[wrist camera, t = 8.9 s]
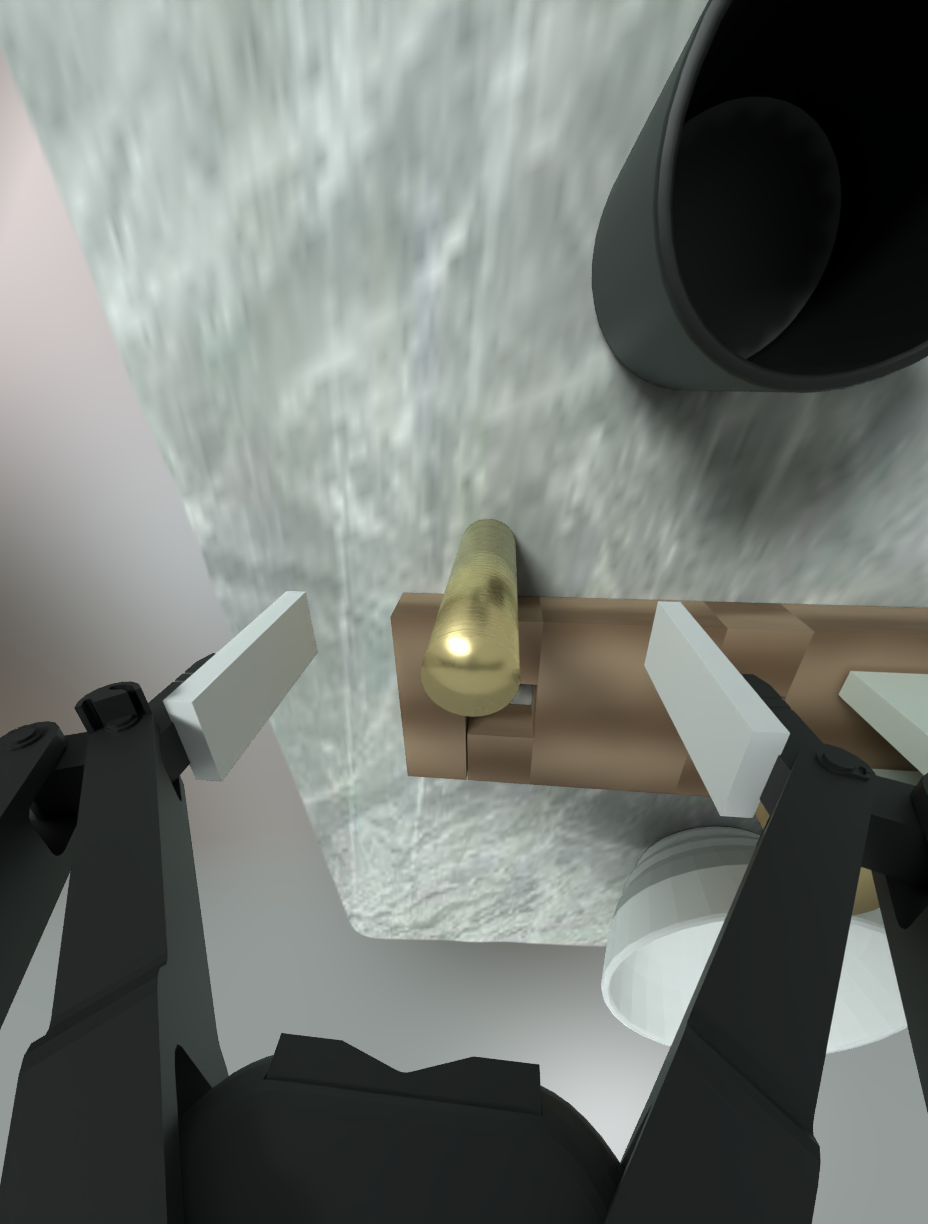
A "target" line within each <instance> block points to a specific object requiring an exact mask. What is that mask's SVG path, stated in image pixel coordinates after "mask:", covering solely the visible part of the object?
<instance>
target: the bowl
mask: <svg viewBox="0 0 928 1224" xmlns="http://www.w3.org/2000/svg"><path fill="white" fill-rule="evenodd" d="M759 837H760V835H759V834H756V833H753V832H750V831H747V830H743V829H738V828H732V827H700V828H695V829H689V830H685V831H681V832H678V833H675V834H672V835H670V836H668V837H665V838H663V839H661V840H659V841H658V842H656V843H655V844H653V845H652V846H650V847H649V848H648V849H647V850H646V851H645V852H644V853H643V854H642V856H641V858H640V859H639V861H638V863H637V865H636V868H635V869H634V871H633V872H632V874H631V875H630V877H629V879H628V880H627V882H626V884H625V888H624V892H623V895H622V897H621V899H620V900H619V902H618V905H617V908H616V911H615V914H614V917H613V920H612V921H611V925H610V930H609V935H608V941H607V947H606V955H605V960H604V968H603V975H602V982H601V989H602V994H603V998H604V1001H605V1003H606V1005H607V1006H608V1008H609V1009H610V1011H611V1013H612V1014H613V1015H614V1016H615V1017H616V1018H617V1019H618V1020H619V1021H621V1022H622V1023H623V1024H624V1025H625V1026H627V1027H628V1028H630V1029H632V1030H633V1031H635V1032H637V1033H639V1034H640V1035H642V1036H644V1037H647V1038H649V1039H651V1040H654V1041H656V1042H659V1043H661V1044H664V1045H668V1046H671V1045H672V1043H673V1040H674V1038H675V1036H676V1033H677V1031H678V1029H679V1026H680V1024H681V1022H682V1019H683V1017H684V1014H685V1012H686V1010H687V1007H688V1005H689V1003H690V1000H691V998H692V996H693V993H694V991H695V989H696V986H697V984H698V982H699V979H700V977H701V975H702V972H703V970H704V968H705V965H706V963H707V961H708V958H709V956H710V954H711V951H712V949H713V946H714V944H715V942H716V939H717V937H718V935H719V932H720V930H721V928H722V925H723V923H724V921H725V918H726V916H727V914H728V911H729V909H730V907H731V904H732V902H733V900H734V897H735V895H736V893H737V890H738V888H739V886H740V883H741V881H742V879H743V876H744V874H745V871H746V869H747V867H748V864H749V862H750V860H751V857H752V855H753V853H754V850H755V848H756V844H757V842H758V840H759ZM906 1027H908V1026H907V1022H906V1018H905V1013H904V1009H903V1005H902V1000H901V996H900V992H899V988H898V983H897V979H896V975H895V970H894V966H893V962H892V958H891V953H890V949H889V945H888V940H887V936H886V932H885V928H884V923H883V919H882V915H881V911H880V910H879V909H876V910H873V911H870V912H867V913H863V914H858V915H852V917H851V923H850V928H849V933H848V939H847V944H846V949H845V954H844V960H843V965H842V970H841V976H840V981H839V986H838V992H837V997H836V1002H835V1008H834V1013H833V1018H832V1023H831V1029H830V1034H829V1039H828V1045H827V1050H826V1054H828V1053H832V1052H838V1051H843V1050H848V1049H852V1048H856V1047H859V1046H862V1045H866V1044H869V1043H872V1042H876V1041H878V1040H881V1039H883V1038H885V1037H888V1036H890V1035H892V1034H894V1033H897V1032H899V1031H901V1030H903V1029H904V1028H906Z"/></svg>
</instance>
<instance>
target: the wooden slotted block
mask: <svg viewBox="0 0 928 1224" xmlns="http://www.w3.org/2000/svg"><path fill="white" fill-rule="evenodd" d="M443 596H444V594H426V593H403V594H402V596H401V598H400V600H399V602H398V604H397V606H396V608H395V609H394V611H393V613H392V615H391V626H392V635H393V644H394V653H395V662H396V672H397V681H398V690H399V699H400V708H401V718H402V727H403V736H404V745H405V754H406V764H407V773H408V776H417V777H432V778H446V779H461V780H466V779H467V770H468V780H475V781H490V782H504V783H519V784H533V785H548V786H563V787H577V788H592V789H606V790H621V791H635V792H650V793H664V794H679V795H693V796H708V797H710V795H709V793H708V791H707V789H706V787H705V785H704V783H703V781H702V779H701V777H700V775H699V773H698V771H697V769H696V767H695V765H694V763H693V761H692V759H691V757H690V755H689V753H688V751H687V749H686V747H685V745H684V743H683V741H682V739H681V737H680V735H679V733H678V731H677V729H676V727H675V725H674V723H673V721H672V719H671V717H670V716H669V714H668V712H667V710H666V708H665V706H664V704H663V702H662V700H661V698H660V696H659V694H658V692H657V690H656V688H655V686H654V684H653V682H652V680H651V678H650V676H649V674H648V672H647V670H646V668H645V666H644V664H645V659H646V655H647V650H648V645H649V641H650V636H651V632H652V627H653V622H654V618H655V613H656V608H657V604H658V601H663V602H681V603H682V605H683V606H684V607H685V608H686V609H687V611H688V612H689V613H690V614H691V615H692V617H693V618H694V619H695V620H696V621H697V623H698V624H699V625H700V626H701V627H702V629H703V630H704V631H705V632H706V633H707V635H708V636H709V637H710V638H711V639H712V640H713V642H714V643H715V644H716V645H717V646H718V648H719V649H720V650H721V651H722V652H723V654H724V655H725V656H726V657H727V658H728V660H729V661H730V662H731V663H732V664H733V666H734V667H735V668H736V669H737V670H738V672H739V673H740V674H754V675H755V676H757V677H758V678H760V679H762V680H763V681H765V682H766V683H768V684H769V685H771V686H772V687H773V688H774V690H775V691H776V692H777V693H778V694H779V695H780V696H781V697H782V700H784V701H785V702H786V703H787V704H788V705H789V706H790V707H791V710H794V712H795V713H796V714H797V715H798V716H799V717H800V718H801V719H802V720H803V721H804V723H805V724H806V725H807V726H808V727H809V728H810V729H811V730H812V731H813V733H814V734H815V735H816V736H817V737H818V738H819V739H820V740H821V741H822V742H823V743H824V744H830V745H833V746H836V747H839V748H842V749H844V750H846V751H848V752H850V753H852V754H854V755H856V756H857V757H859V758H860V759H861V760H863V761H864V762H865V763H867V764H868V765H869V766H870V767H871V769H885V770H902V771H918V772H920V771H919V770H918V769H917V768H916V767H915V766H914V765H912V764H911V763H910V762H909V761H908V760H907V759H906V758H905V757H904V756H903V755H902V754H901V753H900V752H899V751H898V750H896V749H895V748H894V747H893V746H892V745H891V744H890V743H889V742H888V741H887V740H886V739H885V738H884V737H883V736H882V735H881V734H879V733H878V732H877V731H876V730H875V729H874V728H873V727H872V726H871V725H870V724H869V723H868V722H867V721H866V720H865V719H863V718H862V717H861V716H860V715H859V714H858V713H857V712H856V711H855V710H854V709H853V708H852V707H851V706H850V705H849V704H848V703H846V702H845V701H844V700H843V699H842V698H841V697H840V696H839V695H838V694H839V692H840V690H841V689H842V687H843V685H844V683H845V681H846V679H847V677H848V675H849V673H850V671H864V672H888V673H912V674H928V608H913V607H878V606H843V605H809V604H774V603H739V602H704V601H670V600H635V599H600V598H565V597H530V596H517V599H518V629H519V658H520V684H531V685H533V690H532V703H531V705H517V704H508V705H507V706H505V707H504V708H503V709H501V710H499V711H497V712H495V713H492V714H489V715H485V716H477V717H471V716H462V715H458V714H455V713H452V712H449V711H447V710H445V709H443V708H442V707H440V706H439V705H437V704H436V703H435V702H434V701H433V700H432V699H431V698H430V697H429V696H428V694H427V693H426V691H425V689H424V687H423V685H422V681H421V665H422V662H423V659H424V656H425V653H426V649H427V646H428V643H429V640H430V637H431V634H432V631H433V627H434V624H435V621H436V618H437V615H438V612H439V609H440V605H441V602H442V599H443ZM755 816H756V817H757V819H758V821H759V823H760V824H761V826H762V828H763V829H764V827H765V825H766V822H767V820H768V818H769V816H770V815H769V814H768V812H767V811H766V809H765V807H764V806H763V804H762V803H761V801H760V803H759V805H758V807H757V810H756V812H755ZM878 908H880V906H879V902H878V898H877V893H876V889H875V885H874V881H873V876H872V872H871V870H869V869H866V868H863V867H861V870H860V875H859V880H858V886H857V891H856V896H855V901H854V907H853V912H852V915H858V914H863V913H867V912H870V911H873V910H876V909H878Z"/></svg>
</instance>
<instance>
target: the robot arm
mask: <svg viewBox="0 0 928 1224" xmlns="http://www.w3.org/2000/svg"><path fill="white" fill-rule="evenodd" d="M317 653H318V651H317V646H316V641H315V636H314V631H313V626H312V621H311V616H310V611H309V606H308V601H307V596H306V592H295V591H286V592H285V593H284V594H283V595H282V596H281V597H279V598H278V599H277V600H276V601H275V602H274V603H273V604H272V605H270V606H269V607H268V608H267V609H266V610H265V611H264V612H263V613H261V614H260V615H259V616H258V617H257V618H256V619H255V620H253V621H252V622H251V623H250V624H249V625H248V626H247V627H246V628H244V629H243V630H242V631H241V632H240V633H239V634H238V635H236V636H235V637H234V638H233V639H232V640H231V641H230V642H229V643H227V644H226V645H225V646H224V647H223V648H222V649H221V650H220V651H218V652H217V653H212V654H210V655H208V656H207V657H205V658H203V659H201V660H199V661H197V662H196V663H194V664H193V665H192V666H191V667H190V668H189V669H187V670H186V671H185V674H182V675H180V676H179V677H178V678H177V679H176V680H175V682H172V683H171V684H170V685H169V686H168V687H166V688H165V689H164V690H163V691H162V692H161V693H159V694H158V695H157V696H156V697H155V698H154V699H152V700H151V701H150V702H149V703H148V702H147V700H146V698H145V696H144V693H143V691H142V689H141V687H140V685H139V684H138V683H135V682H119V683H114V684H110V685H107V686H104V687H102V688H99V689H97V690H94V691H93V692H91V693H89V694H87V695H85V696H84V697H83V698H82V699H81V700H79V701H78V703H77V704H76V706H75V710H76V712H77V714H78V715H79V717H80V719H81V721H82V723H83V725H84V726H85V728H86V730H87V732H84V733H78V734H72V735H66V736H64V735H63V733H62V731H61V730H60V728H59V726H58V725H57V724H56V723H54V722H49V721H46V722H37V723H34V724H30V725H24V726H22V727H19V728H18V729H15V730H12V731H10V732H8V733H7V734H6V735H4V736H2V737H1V738H0V1029H1V1026H2V1024H3V1022H4V1020H5V1017H6V1015H7V1013H8V1011H9V1008H10V1006H11V1004H12V1002H13V999H14V997H15V995H16V992H17V990H18V988H19V986H20V984H21V981H22V979H23V977H24V975H25V972H26V970H27V968H28V966H29V963H30V961H31V959H32V956H33V954H34V952H35V950H36V947H37V945H38V943H39V940H40V938H41V936H42V934H43V931H44V929H45V927H46V925H47V923H48V920H49V918H50V916H51V914H52V911H53V909H54V907H55V904H56V902H57V900H58V898H59V896H60V893H61V891H62V889H63V887H64V884H65V882H66V880H67V877H68V875H69V873H70V880H69V888H68V895H67V904H66V910H65V918H64V926H63V933H62V941H61V948H60V956H59V964H58V971H57V979H56V986H55V994H54V1002H53V1009H52V1017H51V1022H50V1026H49V1030H48V1031H47V1033H46V1035H45V1036H43V1037H41V1038H40V1039H38V1040H36V1041H35V1042H33V1043H31V1045H30V1047H29V1048H28V1050H27V1052H26V1054H25V1055H24V1058H23V1061H22V1065H21V1069H20V1073H19V1077H18V1083H17V1089H16V1095H15V1101H14V1107H13V1112H12V1118H11V1125H10V1130H9V1136H8V1142H7V1148H6V1154H5V1160H4V1166H3V1172H2V1178H1V1184H0V1224H812V1217H813V1212H814V1206H815V1200H816V1194H817V1188H818V1180H819V1171H820V1146H819V1145H818V1143H817V1141H816V1139H815V1137H814V1135H813V1120H814V1114H815V1108H816V1103H817V1098H818V1092H819V1087H820V1082H821V1076H822V1071H823V1066H824V1061H825V1055H826V1050H827V1045H828V1039H829V1034H830V1029H831V1023H832V1018H833V1013H834V1008H835V1002H836V997H837V992H838V986H839V981H840V976H841V970H842V965H843V960H844V954H845V949H846V944H847V939H848V933H849V928H850V923H851V917H852V912H853V907H854V901H855V896H856V891H857V886H858V880H859V875H860V870H861V867H863V868H866V869H869V870H871V872H872V876H873V881H874V885H875V889H876V893H877V898H878V902H879V906H880V911H881V915H882V919H883V923H884V928H885V932H886V936H887V940H888V945H889V949H890V953H891V958H892V962H893V966H894V970H895V975H896V979H897V983H898V988H899V992H900V996H901V1000H902V1005H903V1009H904V1013H905V1018H906V1022H907V1026H908V1030H909V1035H910V1039H911V1043H912V1048H913V1052H914V1056H915V1060H916V1064H917V1069H918V1073H919V1078H920V1082H921V1086H922V1090H923V1095H924V1099H925V1103H926V1107H927V1112H928V773H927V774H925V775H924V776H922V778H921V779H920V781H919V782H918V784H917V785H916V786H915V785H911V784H907V783H903V782H900V781H896V780H892V779H888V778H884V777H880V776H877V775H876V774H875V772H874V771H873V770H872V769H871V767H870V766H869V765H868V764H867V763H865V762H864V761H863V760H861V759H860V758H859V757H857V756H856V755H854V754H852V753H850V752H848V751H846V750H844V749H842V748H839V747H836V746H833V745H830V744H824V743H823V742H822V741H821V740H820V739H819V738H818V737H817V736H816V735H815V734H814V733H813V731H812V730H811V729H810V728H809V727H808V726H807V725H806V724H805V723H804V721H803V720H802V719H801V718H800V717H799V716H798V715H797V714H796V713H795V712H794V710H791V707H790V706H789V705H788V704H787V703H786V702H785V701H784V700H782V697H781V696H780V695H779V694H778V693H777V692H776V691H775V690H774V688H773V687H772V686H771V685H769V684H768V683H766V682H765V681H763V680H762V679H760V678H758V677H757V676H755V675H754V674H740V673H739V672H738V670H737V669H736V668H735V667H734V666H733V664H732V663H731V662H730V661H729V660H728V658H727V657H726V656H725V655H724V654H723V652H722V651H721V650H720V649H719V648H718V646H717V645H716V644H715V643H714V642H713V640H712V639H711V638H710V637H709V636H708V635H707V633H706V632H705V631H704V630H703V629H702V627H701V626H700V625H699V624H698V623H697V621H696V620H695V619H694V618H693V617H692V615H691V614H690V613H689V612H688V611H687V609H686V608H685V607H684V606H683V605H682V603H681V602H663V601H658V604H657V608H656V613H655V618H654V622H653V627H652V632H651V636H650V641H649V645H648V650H647V655H646V659H645V664H644V666H645V668H646V670H647V672H648V674H649V676H650V678H651V680H652V682H653V684H654V686H655V688H656V690H657V692H658V694H659V696H660V698H661V700H662V702H663V704H664V706H665V708H666V710H667V712H668V714H669V716H670V717H671V719H672V721H673V723H674V725H675V727H676V729H677V731H678V733H679V735H680V737H681V739H682V741H683V743H684V745H685V747H686V749H687V751H688V753H689V755H690V757H691V759H692V761H693V763H694V765H695V767H696V769H697V771H698V773H699V775H700V777H701V779H702V781H703V783H704V785H705V787H706V789H707V791H708V793H709V795H710V797H711V798H712V800H713V802H714V804H715V806H716V808H717V810H718V812H719V814H720V816H729V817H744V818H753V816H754V814H755V812H756V810H757V807H758V805H759V803H760V801H761V803H762V804H763V806H764V807H765V809H766V811H767V812H768V814H769V815H770V816H769V818H768V820H767V822H766V825H765V827H764V829H763V831H762V833H761V835H760V837H759V840H758V842H757V844H756V848H755V850H754V853H753V855H752V857H751V860H750V862H749V864H748V867H747V869H746V871H745V874H744V876H743V879H742V881H741V883H740V886H739V888H738V890H737V893H736V895H735V897H734V900H733V902H732V904H731V907H730V909H729V911H728V914H727V916H726V918H725V921H724V923H723V925H722V928H721V930H720V932H719V935H718V937H717V939H716V942H715V944H714V946H713V949H712V951H711V954H710V956H709V958H708V961H707V963H706V965H705V968H704V970H703V972H702V975H701V977H700V979H699V982H698V984H697V986H696V989H695V991H694V993H693V996H692V998H691V1000H690V1003H689V1005H688V1007H687V1010H686V1012H685V1014H684V1017H683V1019H682V1022H681V1024H680V1026H679V1029H678V1031H677V1033H676V1036H675V1038H674V1040H673V1043H672V1045H671V1047H670V1050H669V1052H668V1055H667V1057H666V1059H665V1061H664V1064H663V1066H662V1068H661V1071H660V1073H659V1075H658V1078H657V1080H656V1082H655V1085H654V1087H653V1089H652V1092H651V1094H650V1096H649V1099H648V1101H647V1103H646V1105H645V1108H644V1110H643V1112H642V1114H641V1117H640V1119H639V1121H638V1123H637V1126H636V1128H635V1130H634V1132H633V1134H632V1137H631V1139H630V1142H629V1144H628V1146H627V1149H626V1151H625V1153H624V1155H623V1158H622V1160H621V1162H619V1161H618V1159H617V1158H616V1156H615V1155H614V1154H613V1152H612V1151H611V1149H610V1148H609V1146H608V1145H607V1144H606V1142H605V1141H604V1139H603V1138H602V1137H601V1135H600V1134H599V1133H598V1132H597V1131H596V1130H595V1129H594V1127H593V1126H592V1125H591V1124H590V1123H589V1122H588V1121H587V1119H585V1118H584V1117H583V1116H582V1115H581V1114H580V1113H579V1112H578V1111H577V1110H576V1109H575V1108H574V1107H573V1106H572V1105H571V1104H569V1103H568V1102H566V1101H565V1100H563V1099H562V1098H561V1097H559V1096H558V1095H557V1094H555V1093H554V1092H552V1091H550V1090H548V1089H546V1088H544V1087H542V1086H541V1085H540V1070H539V1065H538V1064H530V1063H522V1062H514V1061H505V1060H497V1059H489V1058H481V1057H470V1058H466V1059H462V1060H458V1061H454V1062H450V1063H445V1064H442V1065H437V1066H433V1067H429V1068H425V1069H421V1070H417V1071H413V1072H408V1073H404V1072H399V1071H397V1070H395V1069H393V1068H391V1067H390V1066H388V1065H386V1064H384V1063H382V1062H380V1061H379V1060H377V1059H375V1058H373V1057H371V1056H369V1055H368V1054H366V1053H364V1052H362V1051H360V1050H359V1049H357V1048H355V1047H353V1046H351V1045H349V1044H348V1043H345V1042H344V1041H342V1040H333V1039H325V1038H317V1037H309V1036H301V1035H292V1034H285V1033H281V1036H280V1039H279V1042H278V1045H277V1047H276V1050H275V1053H274V1055H272V1056H268V1057H265V1058H263V1059H261V1060H258V1061H256V1062H253V1063H251V1064H249V1065H247V1066H245V1067H243V1068H241V1069H240V1070H238V1071H236V1072H234V1073H233V1074H231V1075H230V1076H228V1072H227V1068H226V1065H225V1061H224V1058H223V1055H222V1052H221V1049H220V1045H219V1041H218V1035H217V1029H216V1022H215V1014H214V1007H213V999H212V992H211V984H210V977H209V970H208V963H207V954H206V947H205V939H204V932H203V924H202V917H201V909H200V902H199V894H198V887H197V880H196V873H195V865H194V857H193V850H192V842H191V835H190V827H189V820H188V812H187V805H186V797H185V790H184V784H183V781H182V779H181V777H180V774H181V773H182V772H183V771H184V770H185V768H186V767H187V766H188V765H189V764H190V766H191V769H192V771H193V774H194V776H195V778H196V780H207V781H208V780H209V781H223V780H224V778H225V777H226V776H227V774H228V773H229V771H230V770H231V769H232V767H233V766H234V765H235V763H236V762H237V761H238V759H239V758H240V757H241V755H242V754H243V753H244V751H245V750H246V749H247V747H248V746H249V744H250V743H251V742H252V740H253V739H254V738H255V736H256V735H257V734H258V732H259V731H260V729H261V728H262V727H263V725H264V724H265V723H266V722H267V720H268V719H269V717H270V716H271V715H272V713H273V712H274V711H275V709H276V708H277V707H278V705H279V704H280V703H281V701H282V700H283V699H284V697H285V696H286V695H287V693H288V692H289V690H290V689H291V688H292V686H293V685H294V684H295V682H296V681H297V680H298V678H299V677H300V676H301V674H302V673H303V672H304V670H305V669H306V667H307V666H308V665H309V663H310V662H311V661H312V659H313V658H314V657H315V655H316V654H317ZM70 871H71V872H70Z"/></svg>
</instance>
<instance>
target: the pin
mask: <svg viewBox="0 0 928 1224" xmlns="http://www.w3.org/2000/svg"><path fill="white" fill-rule="evenodd" d="M421 681H422V685H423V687H424V689H425V691H426V693H427V694H428V696H429V697H430V698H431V699H432V700H433V701H434V702H435V703H436V704H437V705H439V706H440V707H442V708H443V709H445V710H447V711H449V712H452V713H455V714H458V715H462V716H471V717H477V716H485V715H489V714H492V713H495V712H497V711H499V710H501V709H503V708H504V707H505V706H507V705H508V704H509V703H510V702H511V701H512V700H513V698H514V697H515V696H516V694H517V692H518V689H519V685H520V658H519V629H518V599H517V570H516V542H515V538H514V535H513V533H512V531H511V530H510V529H509V528H508V527H507V526H506V525H505V524H504V523H502V522H500V521H497V520H494V519H483V520H479V521H476V522H474V523H473V524H471V525H470V526H469V527H468V528H467V529H466V531H465V532H464V534H463V537H462V540H461V543H460V546H459V549H458V552H457V555H456V558H455V562H454V565H453V568H452V571H451V574H450V577H449V580H448V584H447V587H446V590H445V593H444V596H443V599H442V602H441V605H440V609H439V612H438V615H437V618H436V621H435V624H434V627H433V631H432V634H431V637H430V640H429V643H428V646H427V649H426V653H425V656H424V659H423V662H422V665H421Z"/></svg>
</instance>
